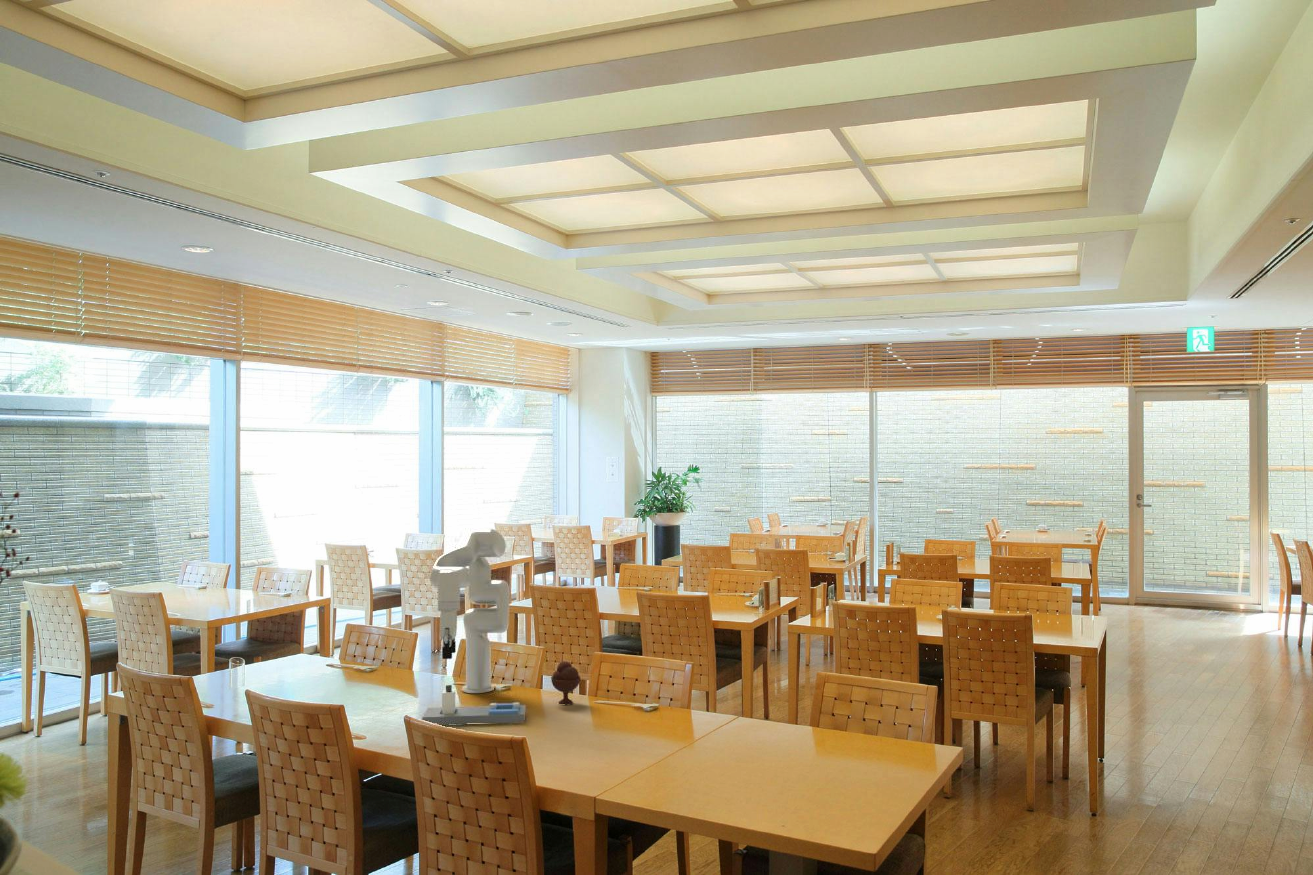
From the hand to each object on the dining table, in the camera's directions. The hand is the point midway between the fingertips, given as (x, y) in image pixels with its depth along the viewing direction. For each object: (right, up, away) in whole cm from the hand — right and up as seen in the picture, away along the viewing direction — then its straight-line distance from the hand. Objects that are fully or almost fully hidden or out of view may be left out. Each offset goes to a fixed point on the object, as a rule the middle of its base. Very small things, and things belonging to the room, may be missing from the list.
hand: (449, 655), depth 318 cm
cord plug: (0, -22, 0) cm, 22 cm away
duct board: (+9, -22, 0) cm, 24 cm away
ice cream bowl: (+38, -23, +21) cm, 49 cm away
